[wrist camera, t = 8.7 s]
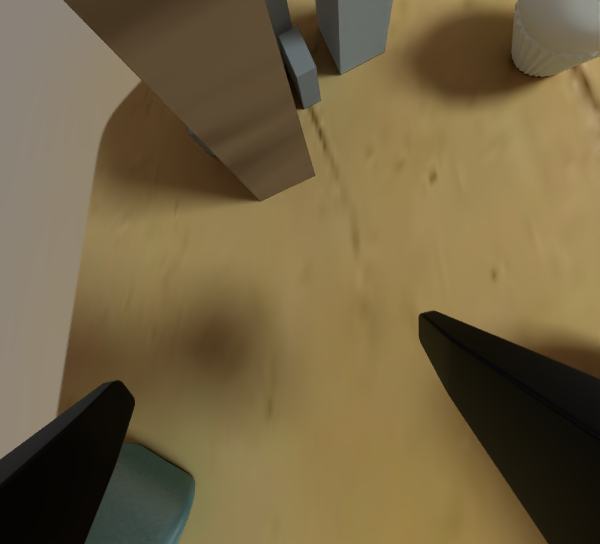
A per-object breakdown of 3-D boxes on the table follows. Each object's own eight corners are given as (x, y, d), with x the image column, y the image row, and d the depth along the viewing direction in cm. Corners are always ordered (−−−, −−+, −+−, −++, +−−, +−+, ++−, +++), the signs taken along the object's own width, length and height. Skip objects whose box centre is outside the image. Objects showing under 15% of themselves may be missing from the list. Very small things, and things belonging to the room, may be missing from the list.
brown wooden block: (315, 175, 16) (227, -132, 4) (260, 201, 17) (55, -9, 5) (273, 75, 17) (113, -381, 6) (223, 103, 18) (-17, -256, 6)
